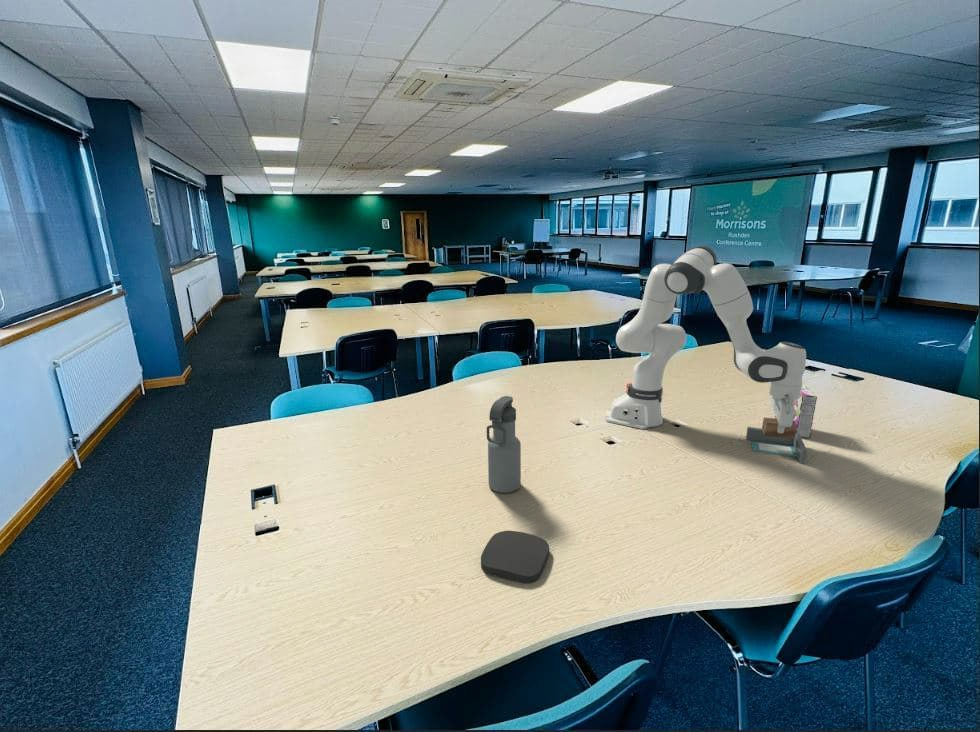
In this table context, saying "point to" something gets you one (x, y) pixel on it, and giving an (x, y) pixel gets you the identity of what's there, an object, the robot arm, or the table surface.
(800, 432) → the candy bar box
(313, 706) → the table surface
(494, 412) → the water bottle
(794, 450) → the corner bracket
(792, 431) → the walnut block
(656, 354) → the robot arm
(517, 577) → the media streaming box
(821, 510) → the table surface
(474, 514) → the table surface
